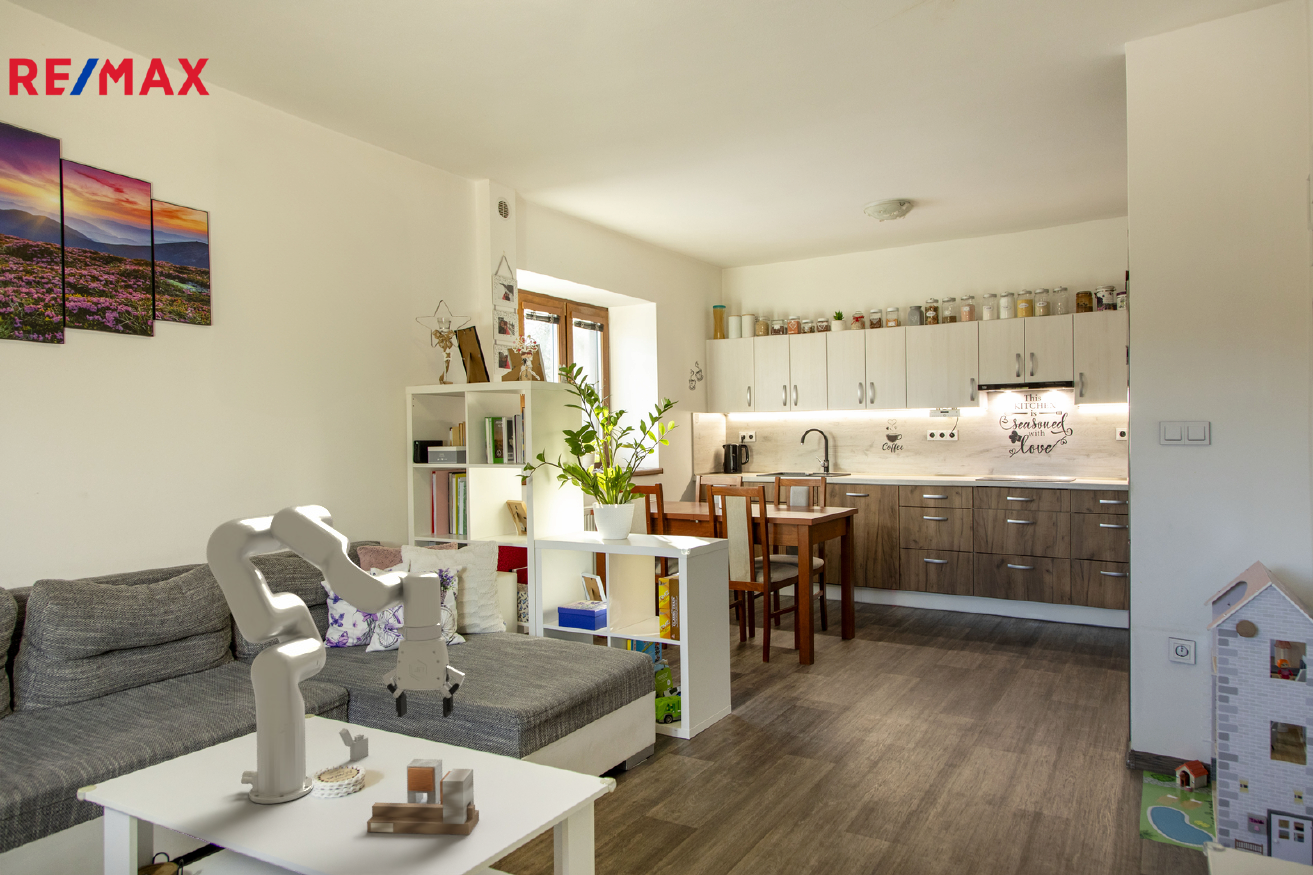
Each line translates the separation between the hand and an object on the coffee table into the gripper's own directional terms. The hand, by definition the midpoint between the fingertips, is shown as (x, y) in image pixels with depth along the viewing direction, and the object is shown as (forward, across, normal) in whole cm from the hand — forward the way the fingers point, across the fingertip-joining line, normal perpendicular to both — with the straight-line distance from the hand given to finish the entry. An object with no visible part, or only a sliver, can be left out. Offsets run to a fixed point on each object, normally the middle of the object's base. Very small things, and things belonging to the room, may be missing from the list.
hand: (424, 715), depth 171 cm
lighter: (+18, -26, +22) cm, 39 cm away
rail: (+18, +4, -11) cm, 21 cm away
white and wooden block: (+18, 0, 0) cm, 18 cm away
